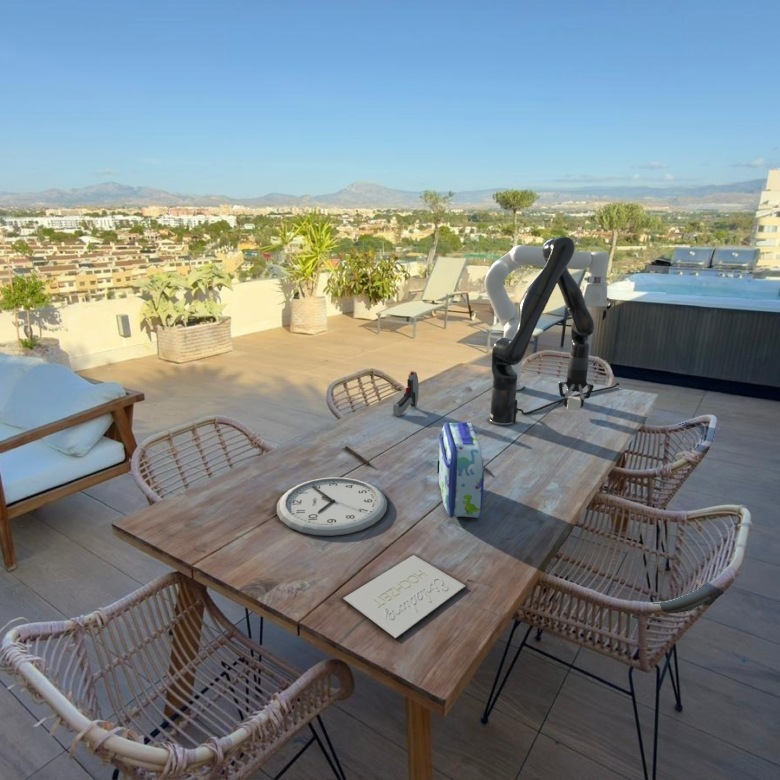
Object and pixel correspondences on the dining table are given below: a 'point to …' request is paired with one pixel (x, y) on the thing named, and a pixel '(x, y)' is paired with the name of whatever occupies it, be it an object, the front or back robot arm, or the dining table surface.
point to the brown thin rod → (357, 455)
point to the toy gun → (408, 395)
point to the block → (573, 403)
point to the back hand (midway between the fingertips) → (591, 319)
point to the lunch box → (461, 470)
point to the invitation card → (404, 595)
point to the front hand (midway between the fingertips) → (573, 406)
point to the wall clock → (331, 506)
